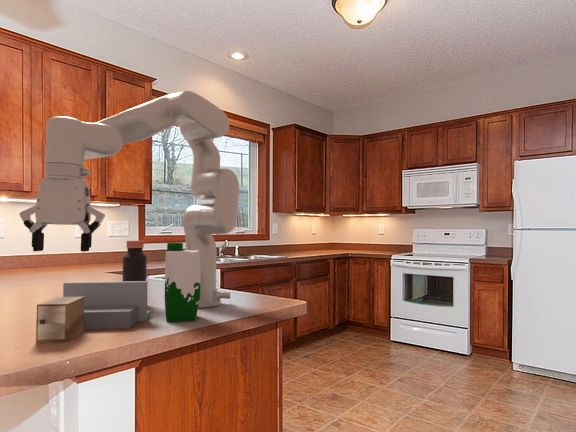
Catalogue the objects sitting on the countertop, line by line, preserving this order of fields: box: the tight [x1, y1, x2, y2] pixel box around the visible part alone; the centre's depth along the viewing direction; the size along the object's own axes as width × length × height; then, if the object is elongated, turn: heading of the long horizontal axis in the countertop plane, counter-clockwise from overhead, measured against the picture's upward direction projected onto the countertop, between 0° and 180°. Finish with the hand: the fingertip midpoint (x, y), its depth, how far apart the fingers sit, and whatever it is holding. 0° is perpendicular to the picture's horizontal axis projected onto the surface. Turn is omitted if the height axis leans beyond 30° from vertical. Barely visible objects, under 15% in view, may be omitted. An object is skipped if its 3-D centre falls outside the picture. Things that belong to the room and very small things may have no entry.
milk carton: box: [164, 242, 201, 323], centre depth 103 cm, size 9×9×20 cm
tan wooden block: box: [35, 296, 85, 344], centre depth 85 cm, size 6×10×8 cm, turn 8°
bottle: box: [122, 240, 148, 282], centre depth 120 cm, size 7×7×20 cm
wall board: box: [62, 280, 151, 330], centre depth 98 cm, size 20×12×10 cm, turn 98°
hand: (61, 251), depth 86 cm, fingers open, 9 cm apart
